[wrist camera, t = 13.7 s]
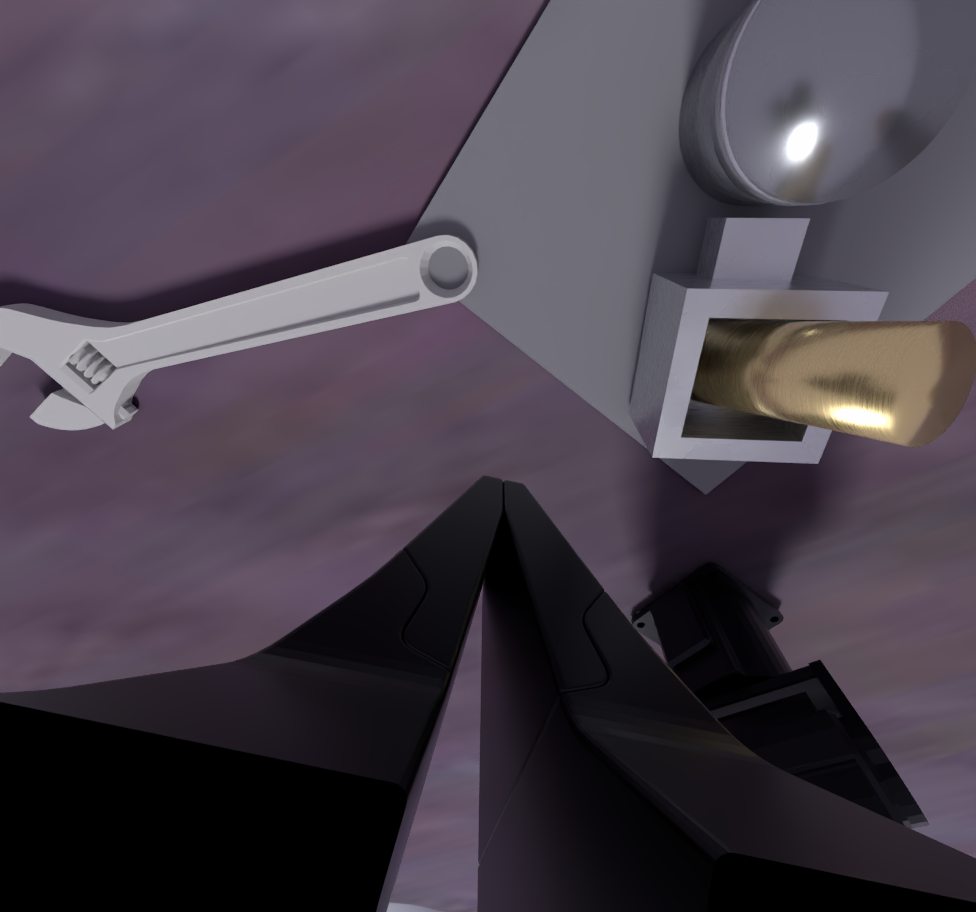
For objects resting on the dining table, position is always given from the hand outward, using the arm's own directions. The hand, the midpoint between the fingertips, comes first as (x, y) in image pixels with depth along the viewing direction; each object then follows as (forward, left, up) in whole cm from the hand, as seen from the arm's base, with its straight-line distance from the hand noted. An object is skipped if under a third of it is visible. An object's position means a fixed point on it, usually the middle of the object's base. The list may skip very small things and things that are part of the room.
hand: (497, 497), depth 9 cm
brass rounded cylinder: (-7, -5, -11) cm, 13 cm away
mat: (-4, -9, -13) cm, 16 cm away
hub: (-2, -12, -13) cm, 18 cm away
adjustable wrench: (+11, +9, -14) cm, 19 cm away
